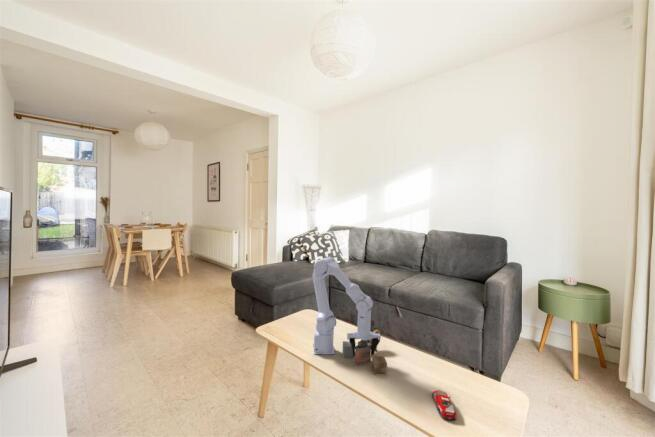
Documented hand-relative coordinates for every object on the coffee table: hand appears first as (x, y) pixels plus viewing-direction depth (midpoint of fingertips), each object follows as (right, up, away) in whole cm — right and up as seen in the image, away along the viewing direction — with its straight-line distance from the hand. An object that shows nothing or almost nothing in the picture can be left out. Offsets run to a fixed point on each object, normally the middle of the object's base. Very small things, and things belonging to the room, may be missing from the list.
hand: (363, 354), depth 127 cm
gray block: (-6, -3, +7) cm, 9 cm away
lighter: (0, -4, 0) cm, 4 cm away
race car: (+25, -6, -26) cm, 37 cm away
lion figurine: (+4, -3, +10) cm, 11 cm away
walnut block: (+6, -4, -6) cm, 9 cm away
